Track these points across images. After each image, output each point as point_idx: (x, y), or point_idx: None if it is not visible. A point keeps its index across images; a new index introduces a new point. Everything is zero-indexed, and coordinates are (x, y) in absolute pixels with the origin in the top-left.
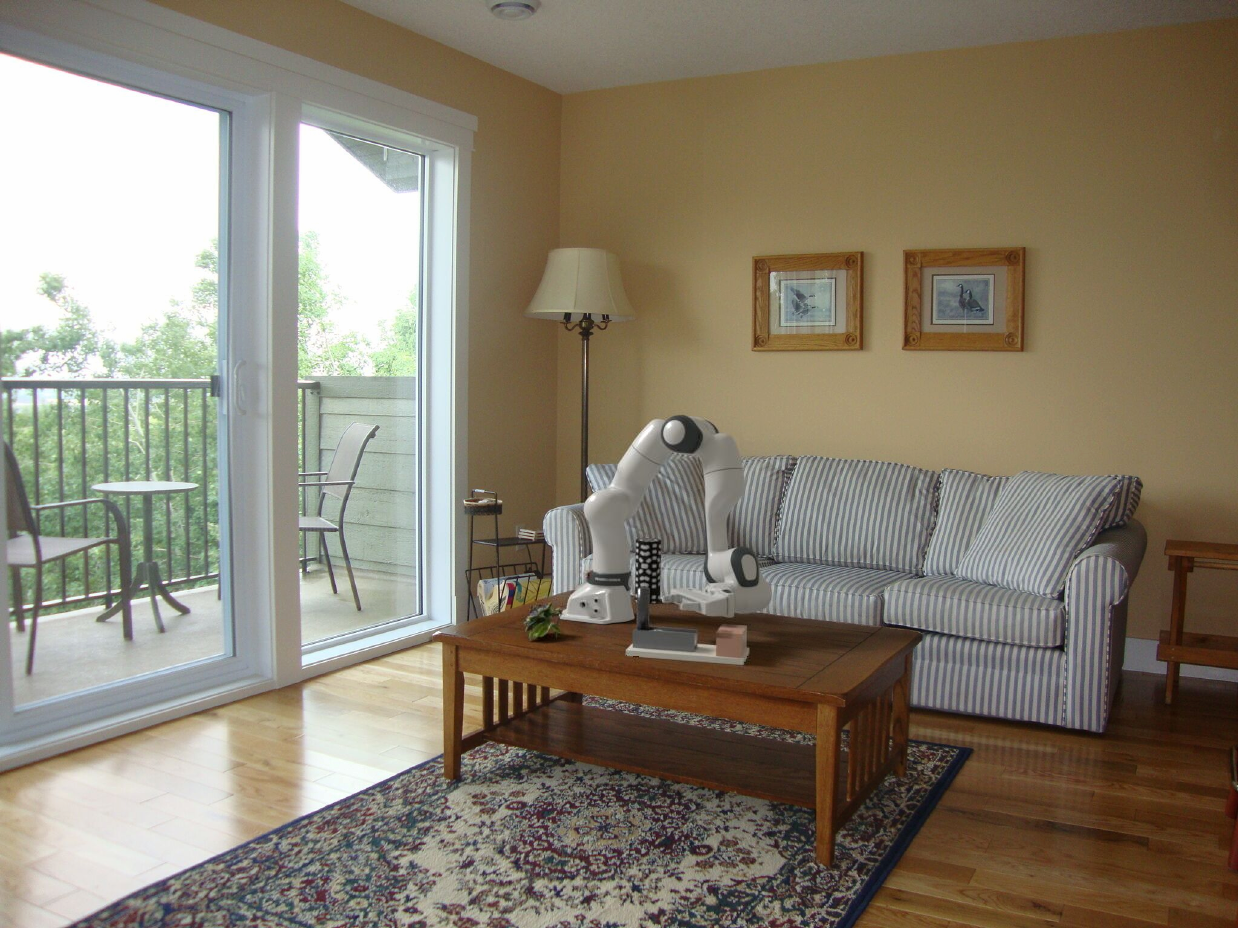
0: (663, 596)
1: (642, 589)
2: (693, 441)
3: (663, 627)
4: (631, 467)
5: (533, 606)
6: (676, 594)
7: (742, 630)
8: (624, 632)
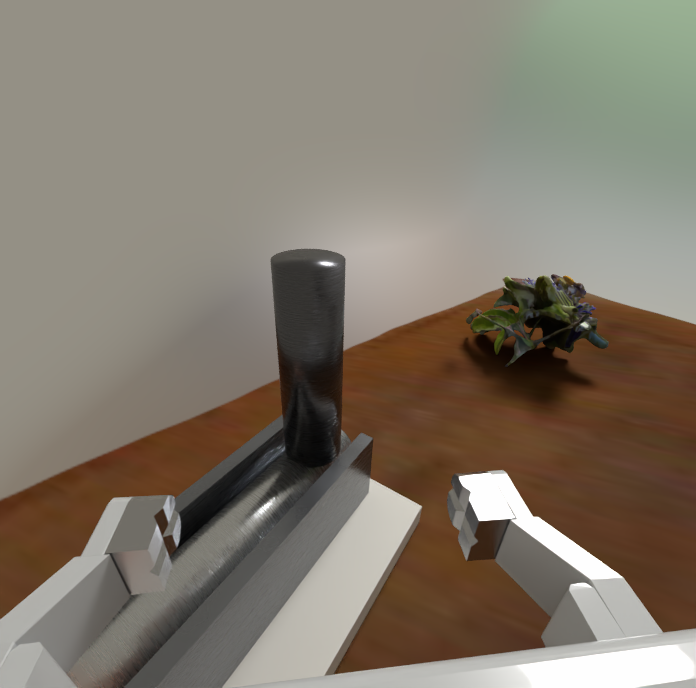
0: (493, 472)
1: (280, 253)
2: None
3: (281, 525)
4: None
5: (556, 278)
6: (596, 626)
7: None
8: (667, 555)
